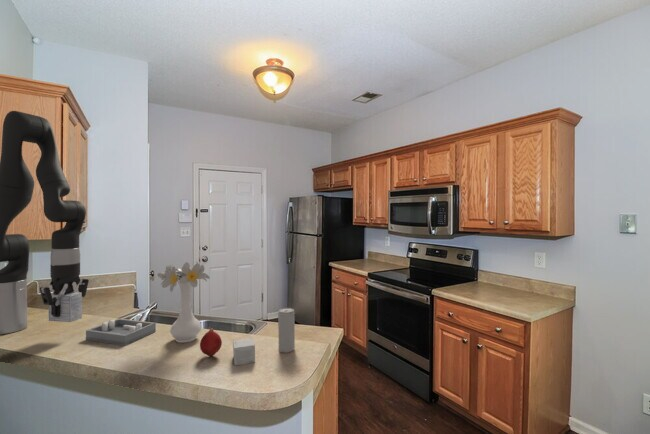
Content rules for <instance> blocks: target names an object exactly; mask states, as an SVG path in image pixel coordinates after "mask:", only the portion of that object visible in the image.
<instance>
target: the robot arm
mask: <svg viewBox="0 0 650 434" xmlns="http://www.w3.org/2000/svg"><path fill="white" fill-rule="evenodd" d="M3 119H4V120H3V123H2V133H1V148H0V149H1V152H0V263H2V262H3V263H4V262H8V263H7V264H6V265H5V266H4V267H2V268H1V269H0V335H3V334H5V335H6V334H12V333H16V332H18V331H22V330H24V329H26V328H27V327H28V282H27V281H28V279H27V277H28V276H27V275H28V272H29V262H30V260H29V259H30V241H29V239H28V237H26V236H25V235H24V234H22V233H13V234H7V231H8V229H9V226H10V225H11V223H12V222H13V221H14V220H15V218H16V217H18V215H20V214H21V213H22V212H23V211H24V210H25V209H26V208H27V207H28V205H29V204H30V203H31V202H32V198H33V195H34V194H33V192H34V189H35V180H34V177H33V175H32V173H31V171H30V169H29V168H28V166H27V164H26V163H25V160H24V157H23V143H25V142H26V143H30V144H31V143H32V144H36V145H37V146H38V148H39V151H40V158H39V161H38V163H37V165H36V168H35V177H36V179H37V182H38V184H39V186H40V189H41V191H42V199H43V201H42V202H43V213H44V216H45V217H46V219H48V220H49V221H50V222H51V223H65V225H64V226H63V228H59V229H57V230H54V231H52V233H51V252H50V270H49V271H50V274H49V275H50V278H51V281H50V283H49V284H48V285H46V286H40V287H39V292H40V295H41V299H42V303H43V305H45V306H46V305H48V306H49V305H51V314H52V316H53V317H60V305H59V304H60V301H61V299H62V298H63V296H64V294H66V293H71V292H74V293H76V292H80V293H82V298H85V296H86V294H87V290H88V286H89V281H90V279H88V278H80V275H81V251H80V234H81V231H82V229H83V226H84V222H85V220H86V216H87V211H86V207H85V205H84V204H83V202H81V201H79V200H65V199H63V200H62V198H63V197H66V196H68V195H69V194H70V193H71V188H70V184H69V182H68V180H67V177H66V176H65V174H64V171H63V168H62V166H61V162H60V158H59V153H58V148H57V143H56V138H55V133H54V130H53V127H52V125H51V123H50V121H49V120H48V119H47V118H45V117H43V116H42V117H41V116H39V115H35V114H30V113H26V112H22V111H18V110H11V111H9V112H7V113H6V115H5V117H4V118H3ZM51 294H52V295H51ZM57 294H59V295H57Z"/></svg>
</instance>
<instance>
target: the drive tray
mask: <svg viewBox="0 0 650 434" xmlns="http://www.w3.org/2000/svg"><path fill="white" fill-rule="evenodd" d="M156 329H157V328H156V322H153V321H152V322H151V321H141V320H134V319H127V318H118V319H110V320H109V321H108V322H107V321H106V322H102V323H101V324H100V325H97V326H95V327H91V328H90V329H86V330H85V340H86V341H92V342H93V341H94V342H99V343H104V344H105V343H106V344H112V345H113V344H114V345H119V346H127V345H129V344H131V343H134V342H136V341H138V340H141V339H143V338H145V337H147V336H149V335H151V334H153V333H156V331H157V330H156Z"/></svg>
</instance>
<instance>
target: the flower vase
mask: <svg viewBox="0 0 650 434" xmlns="http://www.w3.org/2000/svg"><path fill="white" fill-rule="evenodd" d="M173 264H174V263H171V264H169V265H165V266H166V267H165V270H164V272H163V271H160V272H158V273H157V277H158V278H160V279H161V281H162V282H160V286H161V287H162V288H163V289H165V288H168V287H169V291H170V293H172V292H173V291H174V289H175V287H176V286H177V285H178V286H179V289H180V308H179V314H178V317H177V319H176V320H175V321H174V322H173V323H172V325H171V326H170V329H169V333H170V335H171V337H173V338H174V339H175V342H176V343H179V344H183V343H190V342H193V341H195V340H196V339H197V337H198V335H199V334H200V333H201V332H202V324H201V322H200V320H199V319H197V318H196V317H195V315H194V313H193V310H192V295H191V293H192V288H196V287H197V286H198V280H204V281H205V282H208V280H210V278H211V277H210V276H209V274H207V273H205V265H204V264H201V265H200V264H199V263H198V261H196V263H195V264H194V265H193V266H192V267H191V266H190V263H189V262H188V261H187V262H184V263H183V266H182V267H181V268H176V267H175V266H174V265H173ZM177 283H178V284H177Z"/></svg>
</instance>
